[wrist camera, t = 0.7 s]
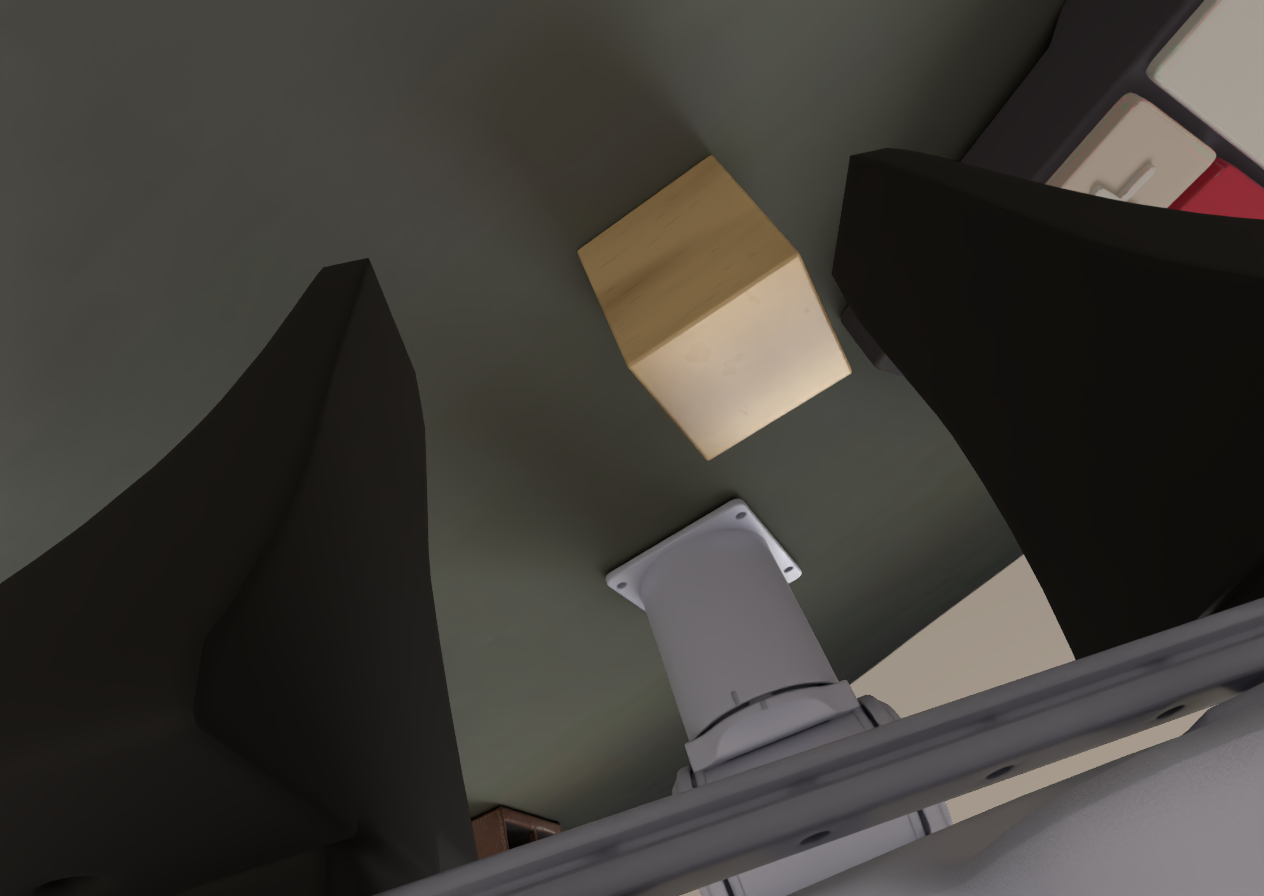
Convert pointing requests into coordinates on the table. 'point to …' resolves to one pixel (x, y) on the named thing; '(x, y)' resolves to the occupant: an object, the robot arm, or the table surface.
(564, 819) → the table surface
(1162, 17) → the calculator
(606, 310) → the birch block
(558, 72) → the table surface
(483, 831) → the letter holder
